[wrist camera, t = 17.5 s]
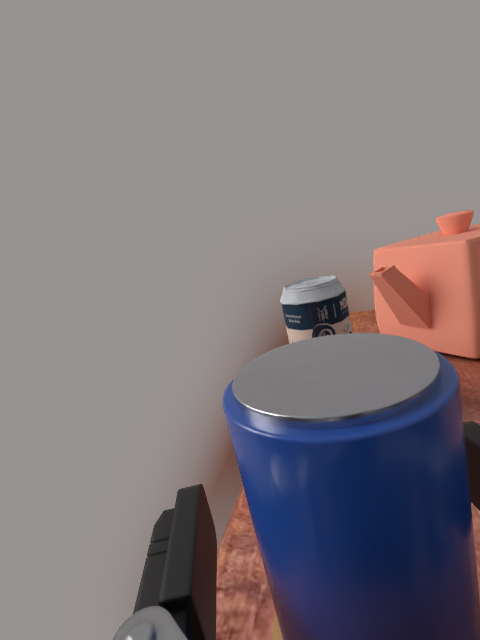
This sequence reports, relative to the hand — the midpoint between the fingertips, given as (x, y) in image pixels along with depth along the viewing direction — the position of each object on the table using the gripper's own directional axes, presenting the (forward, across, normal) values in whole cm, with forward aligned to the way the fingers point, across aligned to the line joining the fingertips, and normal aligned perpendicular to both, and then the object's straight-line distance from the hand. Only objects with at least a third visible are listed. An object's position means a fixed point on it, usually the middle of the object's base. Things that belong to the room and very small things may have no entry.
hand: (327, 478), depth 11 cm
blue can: (-2, 0, +8) cm, 8 cm away
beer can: (+15, -4, +8) cm, 18 cm away
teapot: (+27, -22, +8) cm, 36 cm away
